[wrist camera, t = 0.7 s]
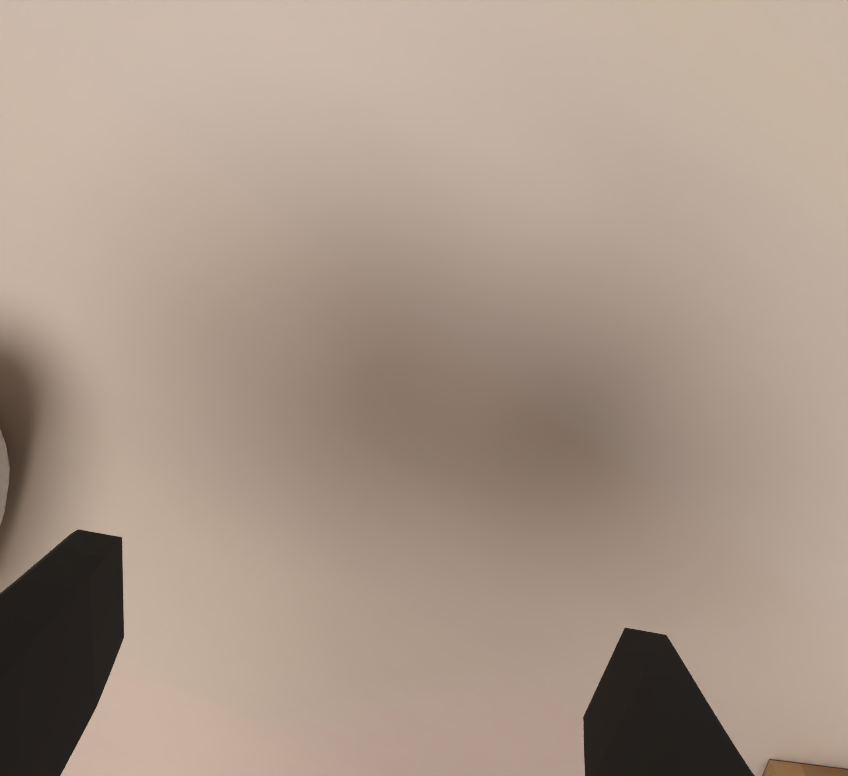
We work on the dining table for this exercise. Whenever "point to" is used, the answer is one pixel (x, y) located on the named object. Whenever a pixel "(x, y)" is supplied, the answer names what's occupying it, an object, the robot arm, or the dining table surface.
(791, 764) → the wooden square ring
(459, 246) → the dining table surface
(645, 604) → the dining table surface
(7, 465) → the donut
